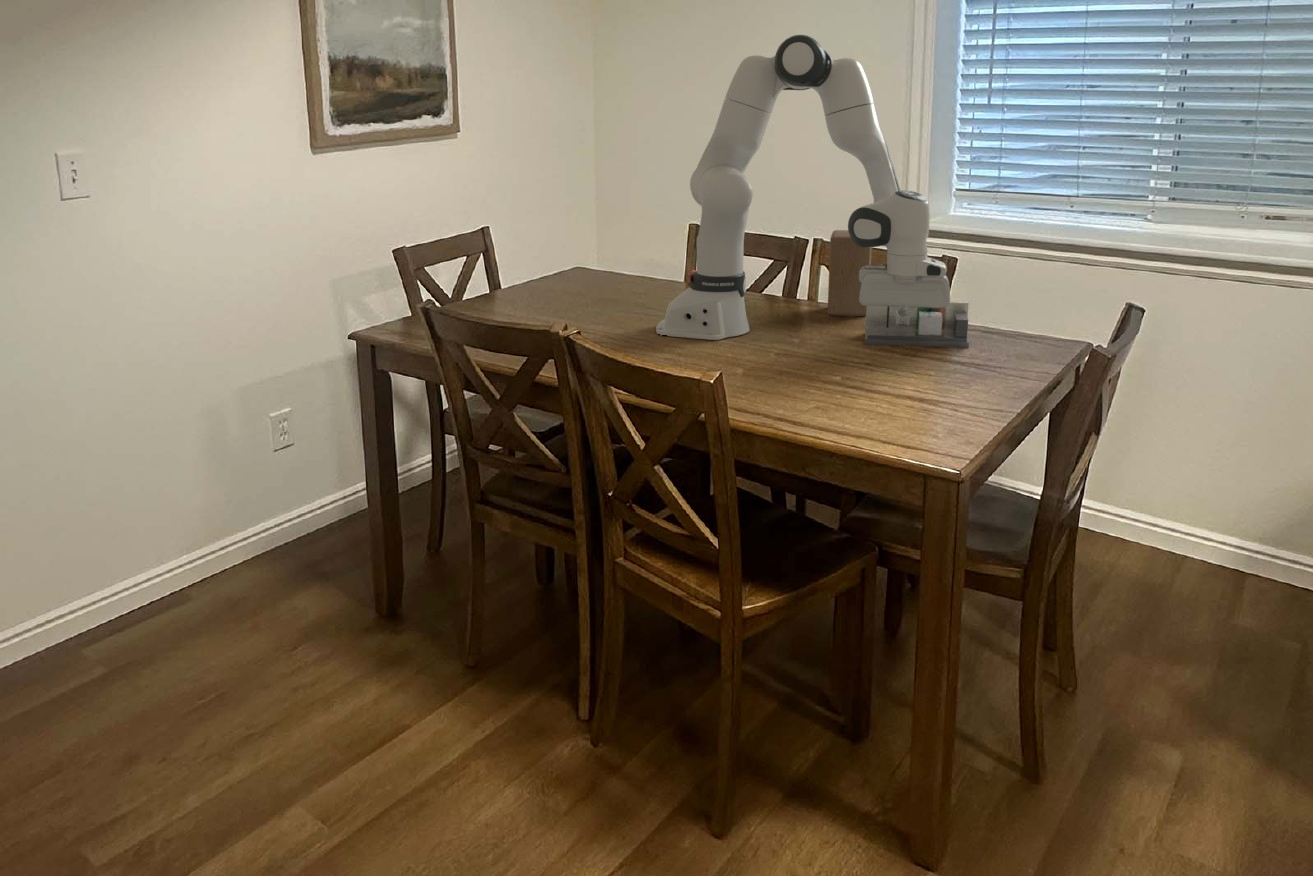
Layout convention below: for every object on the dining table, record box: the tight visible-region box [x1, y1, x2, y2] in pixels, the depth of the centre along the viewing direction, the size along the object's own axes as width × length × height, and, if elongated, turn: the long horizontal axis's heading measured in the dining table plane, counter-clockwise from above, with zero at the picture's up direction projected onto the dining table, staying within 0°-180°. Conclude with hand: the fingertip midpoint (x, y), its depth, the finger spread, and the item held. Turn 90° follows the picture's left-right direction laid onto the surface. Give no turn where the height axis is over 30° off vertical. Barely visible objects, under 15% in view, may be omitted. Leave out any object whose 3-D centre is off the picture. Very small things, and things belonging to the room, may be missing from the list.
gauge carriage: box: [918, 307, 942, 337], centre depth 257 cm, size 5×7×6 cm
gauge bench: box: [864, 300, 970, 349], centre depth 258 cm, size 23×10×8 cm, turn 79°
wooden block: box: [827, 229, 873, 317], centre depth 282 cm, size 10×10×20 cm
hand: (902, 325), depth 257 cm, fingers closed
